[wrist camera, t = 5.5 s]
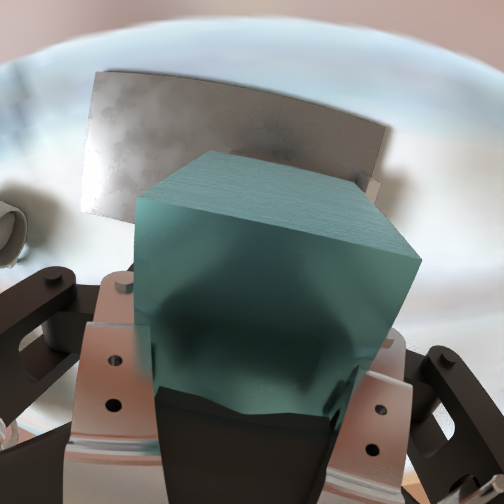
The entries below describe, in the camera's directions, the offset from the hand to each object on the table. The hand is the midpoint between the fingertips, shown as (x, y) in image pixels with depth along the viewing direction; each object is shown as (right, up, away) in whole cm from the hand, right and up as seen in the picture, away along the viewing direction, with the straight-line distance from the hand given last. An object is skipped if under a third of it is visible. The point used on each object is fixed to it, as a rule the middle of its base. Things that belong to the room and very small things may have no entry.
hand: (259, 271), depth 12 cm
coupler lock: (0, 0, 0) cm, 0 cm away
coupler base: (-3, +8, +16) cm, 18 cm away
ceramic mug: (-31, +4, +21) cm, 38 cm away
